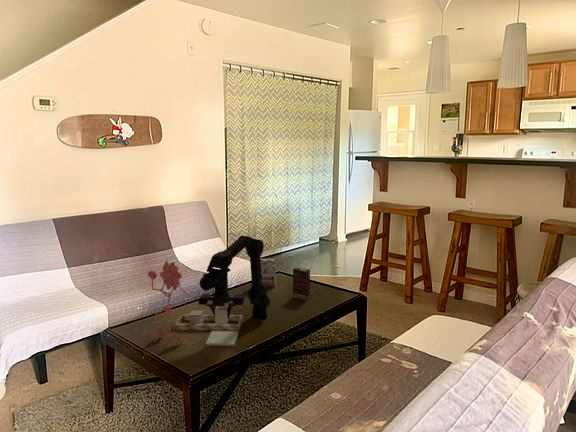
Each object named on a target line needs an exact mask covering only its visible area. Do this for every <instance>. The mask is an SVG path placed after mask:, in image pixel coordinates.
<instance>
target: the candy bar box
mask: <svg viewBox="0 0 576 432" xmlns="http://www.w3.org/2000/svg"><path fill="white" fill-rule="evenodd" d="M276 260H277V259H276V258H261V273H262V285H263V287H264V288H275V287H276V286H277V266H276V265H277V263H276V262H277V261H276Z"/></svg>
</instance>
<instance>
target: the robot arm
mask: <svg viewBox="0 0 576 432" xmlns="http://www.w3.org/2000/svg"><path fill="white" fill-rule="evenodd" d="M264 246H265V245H264V241H263V239H256V238H252V237H250V236H249V235H239V236H238V239H236V240H235V241H234V242H233V243H231V244H230V246H228V247H227V248H225V249H224V250H223V251H222V250H221V251H218V252H216V253H214V254H213V255H212V256H211V259H210V261H209V263H208V266H207V269H206V273H203V274H202V277H200V280H199V287H200V288H201V289H202V291H205V292H206V291H209V290H211V289H213V292H212V293H213V294H212V296H211V293H206V294H205V293H203V294H201V295H200V296H199V298H198V305H200V306H202V305H203V306H206V307H209V308H210V310H211V311H212V312H211V313H212V315H214V317H215V309H216V307H217V306H220V307H223V306H226V305H225V304H228V305H227V306H228V315H227V316H228V319H229V316H230V315H231V313H232V309H233V308H234V307H236V306H242V305H243V304H244V302H245V296H244V294H234V296H230V294H229V274H228V273H230V272H231V270H232V269H230V268H229V267H230V266H231V265H232V262H233V260H234V258H235V257H236V256H237V255H238V254H239V253H241V252H242V250H244V249H245V252H246V254H247V256H248V257H249V263H250V274H251V276H250V277H251V287H250V289H248V291H247V293H248V300H249V302H250V303H249V304H250V305H253V306H252V317H253V319H267V318H268V307H270V305H271V298H270V297H269V296H268V295H267V289H266V287H263V285H262V273H261V259H262V258H261V256H262V254H263V253H264V248H265V247H264Z"/></svg>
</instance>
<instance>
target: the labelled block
mask: <svg viewBox="0 0 576 432" xmlns="http://www.w3.org/2000/svg"><path fill="white" fill-rule="evenodd" d="M227 315H228V305H224V306H223V307H220V306H216V309H215V322H214V324H229V323H228V322H229V321H228V320H229V319H228V316H227Z"/></svg>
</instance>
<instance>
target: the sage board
mask: <svg viewBox="0 0 576 432" xmlns="http://www.w3.org/2000/svg"><path fill="white" fill-rule="evenodd" d="M238 336H239V331H221V330H211V332H210V334H209V336H208V338H207V340H206V342H205V346H207V347H208V346H210V347H211V346H214V347H215V346H217V347H218V346H220V347H221V346H222V347H234V346H235V345H236V343H237V339H238Z"/></svg>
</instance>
